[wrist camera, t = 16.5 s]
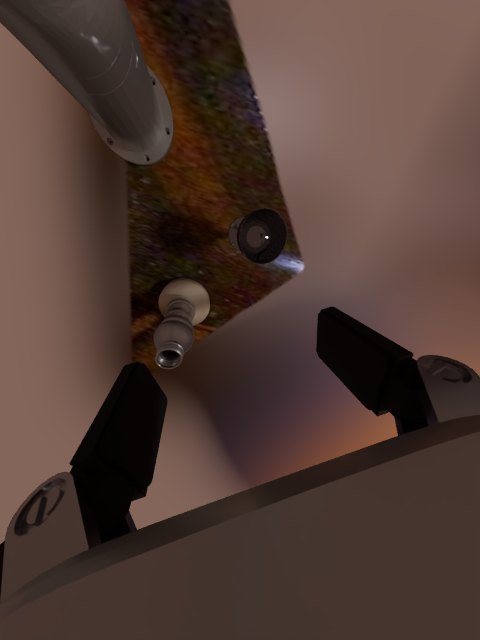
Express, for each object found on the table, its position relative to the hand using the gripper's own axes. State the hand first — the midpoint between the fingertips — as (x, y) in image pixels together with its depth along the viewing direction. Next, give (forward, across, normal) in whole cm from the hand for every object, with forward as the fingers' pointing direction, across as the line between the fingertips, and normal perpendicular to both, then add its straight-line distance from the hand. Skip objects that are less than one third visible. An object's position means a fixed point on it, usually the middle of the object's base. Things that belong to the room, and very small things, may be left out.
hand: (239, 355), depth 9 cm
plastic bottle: (+34, +10, +9) cm, 36 cm away
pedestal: (+36, +9, +9) cm, 38 cm away
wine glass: (+36, -9, -3) cm, 38 cm away
